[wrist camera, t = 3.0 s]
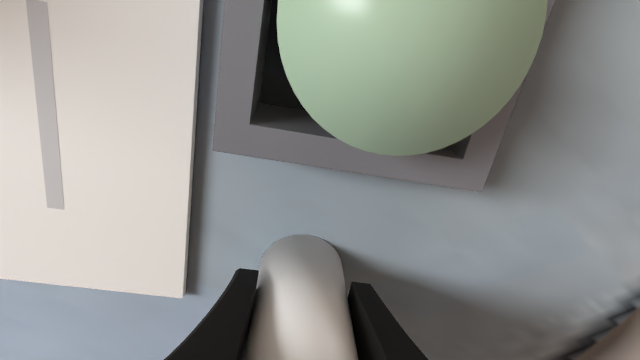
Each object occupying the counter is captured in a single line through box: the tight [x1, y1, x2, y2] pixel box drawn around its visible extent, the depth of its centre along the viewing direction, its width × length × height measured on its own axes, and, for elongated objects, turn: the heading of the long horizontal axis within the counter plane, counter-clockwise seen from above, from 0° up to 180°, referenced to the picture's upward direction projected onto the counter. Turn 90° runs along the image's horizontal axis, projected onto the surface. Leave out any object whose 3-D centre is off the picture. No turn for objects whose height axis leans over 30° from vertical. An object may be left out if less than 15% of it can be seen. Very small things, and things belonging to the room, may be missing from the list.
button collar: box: [213, 0, 555, 192], centre depth 9 cm, size 7×7×2 cm
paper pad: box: [0, 0, 203, 298], centre depth 11 cm, size 12×9×1 cm
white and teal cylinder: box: [244, 235, 358, 360], centre depth 11 cm, size 3×3×7 cm
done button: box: [277, 0, 548, 156], centre depth 8 cm, size 5×5×3 cm
